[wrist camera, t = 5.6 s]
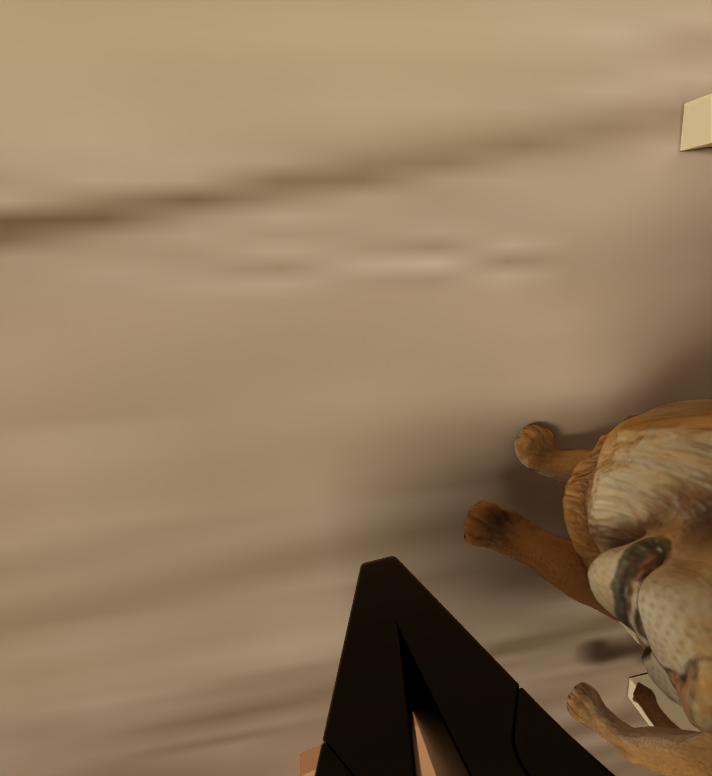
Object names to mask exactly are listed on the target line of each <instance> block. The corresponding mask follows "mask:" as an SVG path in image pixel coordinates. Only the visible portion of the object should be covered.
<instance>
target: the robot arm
mask: <svg viewBox="0 0 712 776" xmlns="http://www.w3.org/2000/svg"><path fill="white" fill-rule="evenodd" d="M413 713H414V715H415V718H416V721H417V724H418V727H419V729H420V732H421V735H422V738H423V741H424V743H425V746H426V749H427V752H428V754H429V757H430V760H431V763H432V766H433V768H434V771H435V774H436V776H615V775H614V774H613V773H612V772H611V771H609V770H608V769H607V768H606V767H605V766H604V765H602V764H601V763H600V762H599V761H598V760H597V759H596V758H595V757H594V756H592V755H591V754H590V753H589V752H588V751H587V750H586V749H585V748H583V747H582V746H581V745H580V744H579V743H578V742H577V741H576V740H575V739H573V738H572V737H571V736H570V735H569V734H568V733H567V732H566V731H565V730H564V729H563V728H562V727H561V726H560V725H559V724H558V723H557V722H556V721H555V720H554V719H553V718H552V717H551V716H550V715H549V714H548V713H547V712H546V711H545V710H544V709H543V708H542V707H541V706H540V705H539V704H538V703H537V702H536V701H535V700H534V699H533V698H532V697H531V696H530V695H529V694H528V693H527V692H526V691H525V690H524V689H523V688H520V689H519V684H518V683H517V682H516V681H515V680H514V679H513V678H512V677H511V676H510V675H509V674H508V673H507V671H506V670H505V669H504V668H503V667H502V666H501V665H500V664H499V663H498V662H497V661H496V660H495V659H494V658H493V657H492V656H491V655H490V654H489V653H488V652H487V651H486V650H485V649H484V648H483V647H482V646H481V645H480V644H479V643H478V641H477V640H476V639H475V638H474V637H473V636H472V635H471V634H470V633H469V632H468V631H467V630H466V629H465V628H464V627H463V626H462V625H461V624H460V623H459V622H458V621H457V620H456V619H455V618H454V617H453V616H452V615H451V614H450V613H449V611H448V610H447V609H446V608H445V607H444V606H443V605H442V604H441V603H440V602H439V601H438V600H437V599H436V598H435V597H434V596H433V595H432V594H431V593H430V592H429V591H428V590H427V589H426V588H425V587H424V586H423V585H422V584H421V582H420V581H419V580H418V579H417V578H416V577H415V576H414V575H413V574H412V573H411V572H410V571H409V570H408V569H407V568H406V567H405V566H404V565H403V564H402V563H401V562H400V561H399V560H398V559H397V558H396V557H394V556H390V557H386V558H382V559H378V560H374V561H370V562H366V563H363V564H362V565H361V567H360V572H359V576H358V581H357V585H356V590H355V595H354V599H353V604H352V608H351V613H350V617H349V622H348V626H347V631H346V636H345V640H344V645H343V649H342V654H341V658H340V663H339V668H338V672H337V677H336V681H335V686H334V690H333V695H332V700H331V704H330V709H329V713H328V718H327V722H326V727H325V732H324V736H323V741H324V743H323V744H322V745H321V749H320V753H319V758H318V762H317V767H316V771H315V775H314V776H422V773H421V765H420V758H419V751H418V744H417V737H416V730H415V722H414V715H413Z"/></svg>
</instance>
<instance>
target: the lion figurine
mask: <svg viewBox="0 0 712 776" xmlns="http://www.w3.org/2000/svg"><path fill="white" fill-rule="evenodd" d="M514 447H515V451H516V454H517V456H518V458H519V460H520V461H521V463H522V464H524V465H525V466H526V467H528V468H529V469H530V470H533V471H535V472H537V473H539V474H541V475H544V476H546V477H549V478H552V479H554V480H557V481H560V482H564V483H567V484H566V487H565V494H564V497H563V508H564V520H565V523H566V526H567V532H568V534H569V536H570V538H571V540H568V539H564V538H560V537H557V536H555V535H552V534H550V533H548V532H546V531H544V530H542V529H541V528H539V527H537V526H536V525H534V524H533V523H532V522H530V521H529V520H527V519H526V518H524V517H523V516H521V515H520V514H518V513H516V512H514V511H509V510H502V509H501V508H500V507H499V506H498V505H496V504H495V503H493V502H490V501H480V502H478V503H477V504H475V505H473V506H472V507H470V508H469V511H468V515H467V517H466V519H465V533H464V538H465V541H466V542H467V543H469V544H471V545H475V546H481V547H486V548H490V549H493V550H495V551H497V552H499V553H502V554H504V555H507V556H510V557H513V558H515V559H517V560H519V561H522V562H524V563H525V564H527V565H529V566H530V567H532V568H533V569H534V570H536V571H537V572H539V573H540V574H541V575H542V576H543V577H544V578H545V579H547V580H548V581H549V582H550V583H552V584H553V585H554V586H556V587H557V588H558V589H560V590H561V591H562V592H564V593H565V594H566V595H568V596H569V597H571V598H573V599H575V600H577V601H578V602H580V603H583V604H585V605H588V606H590V607H592V608H594V609H596V610H598V611H600V612H601V613H603V614H605V615H607V616H609V617H611V618H612V619H615V620H617V621H618V622H619V623H620V624H621V625H622V626H623V627H624V628H625V629H626V630H627V631H628V632H629V633H630V635H631V636H632V637H633V638H634V639H635V640H636V641H637V643H638V644H640V645H641V646H642V648H643V650H644V653H643V656H642V660H643V663H644V665H645V668H646V670H647V672H648V674H649V676H650V677H651V679H652V681H653V682H654V683H655V684H656V685H657V687H658V688H659V689H660V690H661V691H662V692H663V693H664V694H665V695H666V696H667V697H668V698H669V699H670V700H672V701H673V702H675V703H677V704H678V705H680V706H681V707H683V710H684V712H685V714H686V716H687V718H688V720H689V722H690V723H691V724H692V725H693V726H695V727H696V728H697V729H699V730H700V731H702V732H697V731H691V730H683V729H681V728H679V727H678V726H677V725H676V724H675V723H674V722H672V721H671V720H670V719H669V718H668V717H667V715H666V714H665V713H664V712H663V711H662V709H661V708H660V707H659V705H658V703H657V700H656V696H655V694H654V692H653V691H652V690H651V689H650V688H648V687H646V686H645V685H643V684H641V683H640V682H638V683H637V685H636V688H635V690H634V692H633V698H632V699H633V701H634V702H636V703H638V704H639V706H640V707H641V708H642V710H643V711H644V713H645V714H646V716H647V717H648V719H649V720H650V721H651V723H652V724H653V725H654V726H647V727H638V728H633V727H631V726H629V725H628V724H626V723H625V722H623V721H622V720H620V719H619V718H618V717H617V716H616V715H615V714H614V713H612V712H611V711H610V710H609V709H608V708H607V707H606V706H605V704H604V703H603V701H602V699H601V697H600V695H599V694H598V692H597V691H596V690H595V689H594V688H593V687H591V686H590V685H589V684H587V683H585V682H582V683H579V684H577V685H576V686H575V687H574V688H573V690H572V692H571V693H570V694H569V696H568V698H567V710H568V712H569V714H570V715H571V716H572V717H573V718H574V719H576V720H577V721H578V722H580V723H582V724H584V725H585V726H587V727H589V728H591V729H592V730H594V731H595V732H597V733H598V734H599V735H601V736H602V737H604V738H605V739H606V740H608V741H609V742H610V743H611V744H613V745H614V746H615V747H616V748H617V749H618V750H619V751H620V752H621V754H622V755H623V756H624V757H625V758H626V759H627V760H629V761H630V762H632V763H634V764H638V765H641V766H643V767H645V768H648V769H650V770H655V771H658V772H660V773H661V774H663V775H664V776H712V399H697V400H683V401H677V402H672V403H669V404H665V405H662V406H658V407H656V408H653V409H650V410H647V411H646V412H645V413H643V414H640V415H633V416H630V417H628V418H626V419H625V420H624V421H623V422H622V423H620V424H618V425H617V426H616V427H615V428H614V429H613V430H612V431H611V432H609V433H606V434H604V435H602V436H601V437H600V438H599V440H598V442H597V444H596V446H595V448H594V449H593V450H584V449H574V450H562V449H558V448H556V447H555V445H554V436H553V434H552V432H551V431H550V430H548V429H546V428H542V427H540V426H537V425H530V426H527V427H524V428H523V429H522V430H521V432H520V433H519V435H518V437H517V438H516V440H515V443H514Z"/></svg>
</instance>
